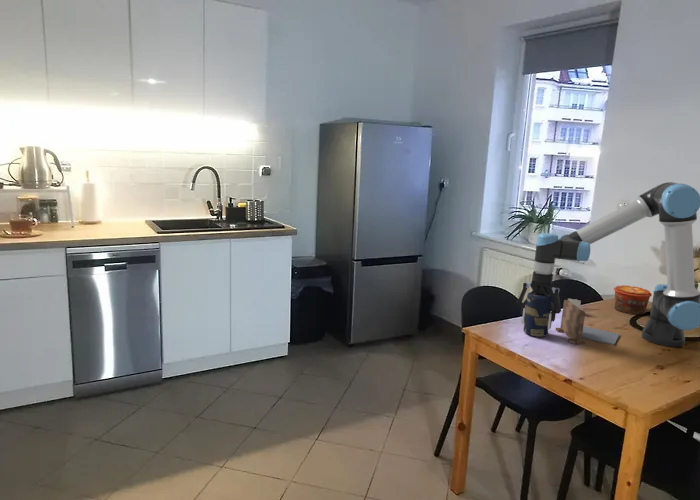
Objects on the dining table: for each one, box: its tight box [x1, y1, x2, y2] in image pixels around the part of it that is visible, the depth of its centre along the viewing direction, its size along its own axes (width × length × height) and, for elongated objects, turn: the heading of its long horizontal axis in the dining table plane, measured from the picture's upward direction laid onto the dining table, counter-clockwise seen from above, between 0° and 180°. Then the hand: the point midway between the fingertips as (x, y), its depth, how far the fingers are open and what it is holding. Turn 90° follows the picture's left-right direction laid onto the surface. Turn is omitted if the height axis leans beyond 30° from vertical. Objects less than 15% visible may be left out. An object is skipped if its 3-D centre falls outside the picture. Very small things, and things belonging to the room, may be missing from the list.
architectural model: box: [567, 298, 584, 311], centre depth 236 cm, size 3×7×7 cm, turn 59°
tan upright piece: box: [555, 299, 587, 345], centre depth 205 cm, size 16×6×13 cm, turn 0°
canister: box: [523, 291, 553, 338], centre depth 205 cm, size 10×10×18 cm
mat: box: [582, 325, 620, 346], centre depth 208 cm, size 14×14×1 cm
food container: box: [613, 285, 653, 316], centre depth 245 cm, size 16×16×11 cm
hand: (536, 325), depth 206 cm, fingers closed on canister, 9 cm apart
